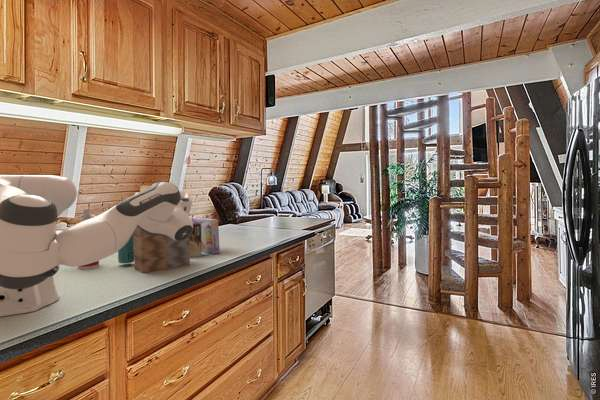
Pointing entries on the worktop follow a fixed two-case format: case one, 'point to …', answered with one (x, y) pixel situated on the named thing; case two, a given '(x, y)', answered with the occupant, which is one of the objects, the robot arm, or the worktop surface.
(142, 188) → the rod
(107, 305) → the worktop surface
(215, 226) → the cake pan box
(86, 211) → the spray bottle
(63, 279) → the worktop surface
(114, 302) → the worktop surface
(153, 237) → the stepped stand
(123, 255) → the beverage bottle
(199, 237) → the coffee box
